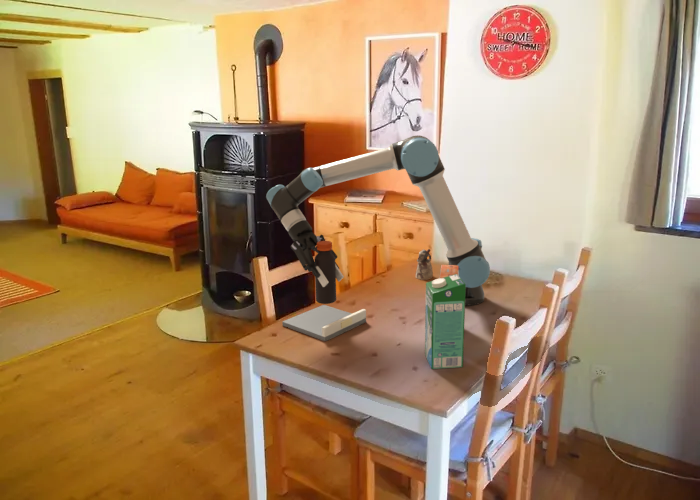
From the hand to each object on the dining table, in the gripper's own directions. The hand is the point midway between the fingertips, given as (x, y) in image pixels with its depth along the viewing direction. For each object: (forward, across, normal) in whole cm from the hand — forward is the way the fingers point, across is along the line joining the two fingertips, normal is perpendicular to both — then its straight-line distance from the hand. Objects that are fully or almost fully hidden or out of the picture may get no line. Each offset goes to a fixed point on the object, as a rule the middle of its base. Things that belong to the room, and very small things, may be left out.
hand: (333, 281), depth 184 cm
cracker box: (+33, -20, +10) cm, 40 cm away
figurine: (+6, -62, -16) cm, 65 cm away
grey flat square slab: (+8, 0, -15) cm, 17 cm away
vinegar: (+3, 0, -8) cm, 8 cm away
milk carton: (+40, -2, +17) cm, 44 cm away
